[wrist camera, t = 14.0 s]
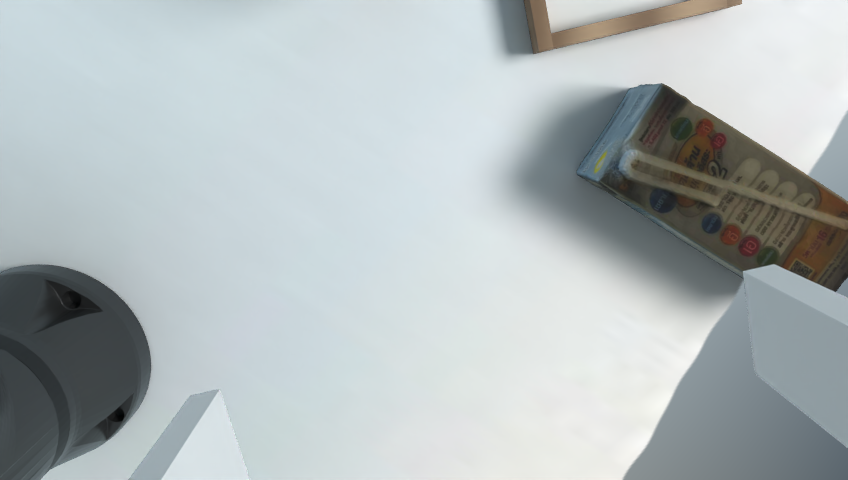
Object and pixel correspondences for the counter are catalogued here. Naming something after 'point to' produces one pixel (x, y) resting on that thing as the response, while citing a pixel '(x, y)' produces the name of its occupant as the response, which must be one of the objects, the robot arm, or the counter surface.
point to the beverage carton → (718, 188)
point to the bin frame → (610, 22)
